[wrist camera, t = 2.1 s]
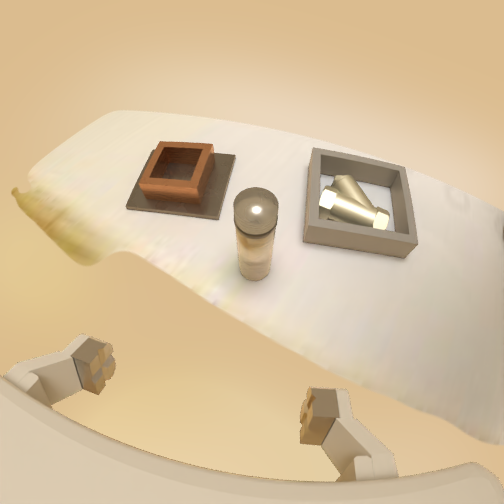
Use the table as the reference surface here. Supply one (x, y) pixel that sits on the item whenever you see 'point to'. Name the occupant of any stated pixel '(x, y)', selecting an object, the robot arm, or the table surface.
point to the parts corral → (358, 235)
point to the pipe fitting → (350, 204)
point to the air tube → (255, 231)
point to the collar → (183, 180)
